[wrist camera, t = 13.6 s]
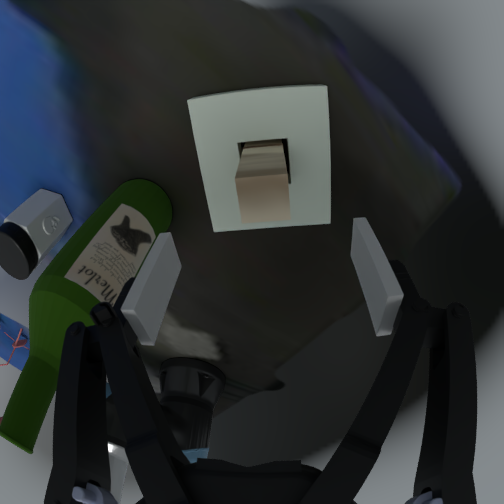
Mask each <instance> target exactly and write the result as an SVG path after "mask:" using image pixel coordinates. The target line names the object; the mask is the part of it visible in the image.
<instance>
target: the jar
mask: <svg viewBox="0 0 504 504" xmlns="http://www.w3.org/2000/svg"><path fill="white" fill-rule="evenodd" d="M72 221H73V219H72V217H71V215H70V213H69V210H68V208H67V206H66V204H65V201H64V199H63V197H62V195H60V194H57V193H54V192H51V191H48V190H45V189H40V190H38V191H37V192H36V193H35V194H33V195H32V196H31V197H30V198H28V199H27V200H26V201H25V202H24V203H22V204H21V205H20V206H19V207H18V208H17V209H15V210H14V211H13V212H12V213H11V214H10V215H9V216H7V217H6V218H5V221H4V224H2V225H1V226H0V265H1V267H2V268H3V269H4V270H5V271H6V272H7V273H8V274H9V275H11V276H13V277H14V278H16V279H19V280H24V279H26V278H28V277H29V275H30V274H31V273H32V271H33V270H35V269H36V267H37V266H38V265H39V264H40V263H41V261H42V260H43V259H44V258H45V256H46V255H47V254H48V253H49V252H50V250H51V249H52V248H53V247H54V246H55V245H56V243H57V242H58V241H59V240H60V239H61V238H62V237H63V235H64V234H65V232H66V230H67V229H68V227H69V226H70V224H71V222H72Z"/></svg>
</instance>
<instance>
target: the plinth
mask: <svg viewBox="0 0 504 504" xmlns="http://www.w3.org/2000/svg"><path fill="white" fill-rule="evenodd" d="M187 102H188V107H189V112H190V118H191V123H192V128H193V134H194V139H195V144H196V149H197V154H198V159H199V164H200V169H201V174H202V179H203V183H204V188H205V193H206V198H207V202H208V207H209V212H210V216H211V221H212V225H213V230H214V232H221V231H233V230H246V229H259V228H272V227H286V226H300V225H315V224H330V218H331V160H330V128H329V109H328V93H327V86H325V85H322V84H317V85H291V86H276V87H264V88H254V89H245V90H237V91H230V92H223V93H216V94H210V95H204V96H199V97H194V98H191V99H189V100H187ZM282 138H287V150H288V162H289V174H288V186H289V200H290V215H291V220H282V221H269V222H256V223H243V224H242V221H241V215H240V209H239V202H238V196H237V190H236V184H235V176H236V172H237V169H238V165H239V162H240V158H241V155H242V148H241V142H249V141H259V140H270V139H282Z"/></svg>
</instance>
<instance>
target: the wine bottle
mask: <svg viewBox="0 0 504 504" xmlns="http://www.w3.org/2000/svg"><path fill="white" fill-rule="evenodd" d="M171 220H172V206H171V203H170V200H169V198H168V196H167V194H166V193H165V192H164V191H163V190H162V189H161V188H160V187H159V186H158V185H156V184H155V183H153V182H150V181H148V180H144V179H135V180H130V181H127V182H125V183H123V184H121V185H120V186H119V187H118V188H117V189H116V190H115V191H114V192H113V193H112V194H111V195H110V196H109V197H108V198H107V199H106V200H105V201H104V202H103V203H102V204H101V205H100V207H99V208H98V209H97V210H96V211H95V212H94V213H93V214H92V215H91V216H90V217H89V218H88V219H87V220H86V221H85V223H84V224H83V225H82V226H81V227H80V228H79V229H78V230H77V232H76V233H75V234H74V235H73V236H72V237H71V238H70V240H69V241H68V242H67V243H66V244H65V245H64V247H63V248H62V249H61V250H60V252H59V253H58V254H57V255H56V256H55V258H54V259H53V260H52V261H51V263H50V264H49V265H48V266H47V268H46V269H45V270H44V272H43V273H42V274H41V276H40V277H39V278H38V280H37V282H36V283H35V285H34V288H33V290H32V293H31V295H30V298H29V336H30V352H29V358H28V360H27V362H26V364H25V366H24V368H23V370H22V372H21V374H20V377H19V379H18V381H17V383H16V386H15V388H14V390H13V393H12V395H11V398H10V400H9V403H8V405H7V408H6V410H5V413H4V416H3V418H2V421H1V424H0V436H2V437H3V438H5V439H6V440H8V441H10V442H11V443H13V444H15V445H16V446H17V447H19V448H21V449H23V450H24V451H26V452H27V453H29V454H32V453H33V448H34V445H35V442H36V439H37V437H38V434H39V431H40V428H41V426H42V423H43V420H44V418H45V415H46V413H47V410H48V408H49V405H50V403H51V401H52V398H53V396H54V394H55V391H56V389H57V381H58V374H59V367H60V360H61V354H62V348H63V343H64V337H65V332H66V330H67V328H68V327H69V326H70V325H71V324H72V323H74V322H77V321H81V322H83V323H84V325H85V326H86V327H88V326H92V325H95V323H94V322H93V320H92V319H91V317H90V316H89V315H90V311H91V309H92V308H93V307H94V306H95V305H96V304H98V303H100V302H109V303H110V304H111V305H112V307H113V306H114V304H115V302H116V300H117V298H118V296H119V294H120V292H121V291H122V288H123V286H124V284H125V283H126V282H127V281H128V280H129V279H130V278H131V277H137V275H138V273H139V271H140V269H141V267H142V265H143V263H144V261H145V259H146V258H147V256H148V254H149V252H150V250H151V248H152V246H153V245H154V243H155V241H156V239H157V237H158V235H159V234H160V233H166V231H167V229H168V228H169V226H170V223H171Z"/></svg>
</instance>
